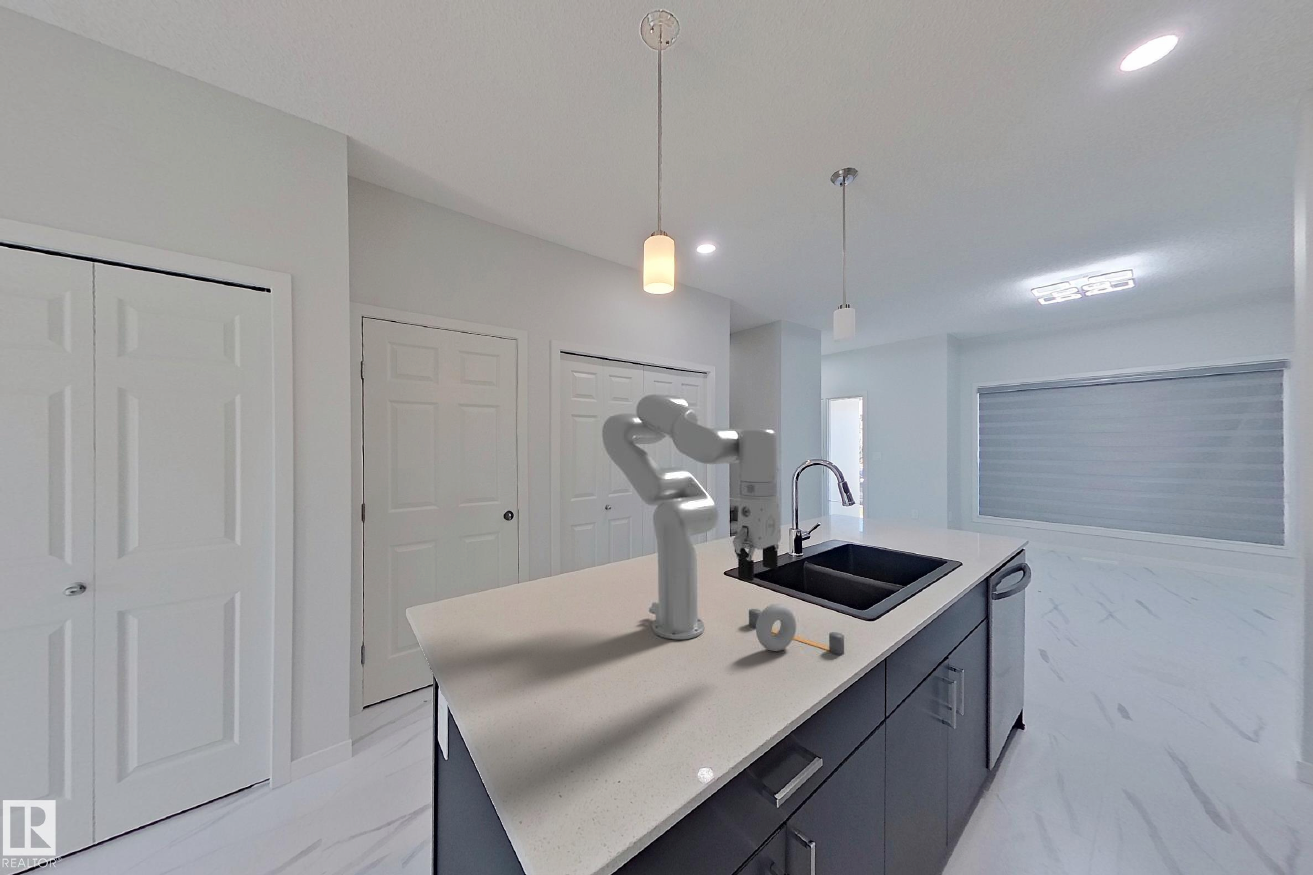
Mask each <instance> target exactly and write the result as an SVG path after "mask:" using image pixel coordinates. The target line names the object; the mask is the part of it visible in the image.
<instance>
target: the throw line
mask: <svg viewBox="0 0 1313 875" xmlns="http://www.w3.org/2000/svg"><path fill="white" fill-rule="evenodd" d="M761 612H762V610H760V609H758V608H751V609H748V626H749V627H750V628H752V629H756V623H757V620H758V617H759V615H760V614H761ZM778 631H779V629H778V630H777V629H774V628H772V634H776V633H777V632H778ZM828 637H829V638H828V643H829V644H828V645H824V644H822V643H818V642H816V641H812V640H809V639H806V638H803V637H800V636H797V635H794V638H793V640H794V641H798V642H800V643H804V644H807V645H811V646H813V647H816V648H819V649H822V650H825V651H829V653H832V654H833V655H836V656H841V655H842V656H843V655H844V654H845V636H844V634H843V633H841V632H837V631H836V632H835V631H832V632H829V633H828Z"/></svg>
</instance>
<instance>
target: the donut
mask: <svg viewBox="0 0 1313 875" xmlns="http://www.w3.org/2000/svg"><path fill="white" fill-rule="evenodd" d="M777 621H780V628H778V632H777V633H776V634H775V633H772V629H773V626H774V624H775V623H776V622H777ZM796 621H797V620H796V618H795V615H794V613H793V611H792V610H791V609H790V608H789V607H788V606H786V605H784V604H782V603H773V604H770V605H767V606H766V607H765V608H764V609H763V610H761V614H760V615H759V617H758V620H757V623H756V628H755V633H756V638H757V640H758V642H759V644H760V645H761V646H762V647H763V648H764V649H765V650H768V651H771V652H780V651H783V650H784V649H786V648H787V647H788V646H790V645H791V643H792V641H793V640H794V639H793V638H794V636H796V631H797V622H796Z"/></svg>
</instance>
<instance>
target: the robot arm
mask: <svg viewBox="0 0 1313 875" xmlns="http://www.w3.org/2000/svg"><path fill="white" fill-rule="evenodd" d="M635 408H636V410H635V412H636V413H619V414H614V415H612V416H610V417H608V418H607V419H606V420H605V421H604V423H603V425H602V431H601V432H602V433H601V437H602V443H603V446H604V449H605V452H606V453H607V455H608V456H609V458H610V460H611V461H612V462H613V463H614V464H615V465H616V466H617V467H618V468H619V470H621V472H622V473H623V474H624V476H625V477H626V478H627V481H628V482H629V483H630V485H631V486H632V487H633V489H634V491H635V492H636V493H637V494H638V496H639V497H640V498H641V500H642V501H643V502H644V503H645V504H646V505H648V506H653V507H655V506H656V508H654V509H655V510H654V512H653V515H652V516H653V517H652V521H653V522H652V523H653V527H654V532H655V533H654V534H655V538H656V547H657V577H658V578H657V579H658V580H657V588H658V589H657V590H658V592H657V593H658V598H657V599H658V600H657V601H658V602H656V601H653V602H652V604H651V607H649V608H648V612H649V613H650V614H652V615H655V619H654V620H653V622H652V626H651V627H652V628H651V629H652V631H653V632H654V633H655V634H656V635H658V636H659V637H661V638H665V639H669V640H688V639H693V638H696V637H699V636H700V635H701V634H703V632H704V631H705V622H704V621H703V620H702V619H701V618H699V615H698V614H699V613H698V610H699V609H698V607H699V606H698V558H697V551H696V549H695V547H694V544H693V542H692V541H691V537H692V536H696V535H700V534H704V533H709V532H710V531H713V529H714V528H716V526H717V525H718V523H719V516H720V515H719V510H718V507H717V505H716V503H715V501H714V500H713V499H712V497H711V496H710V495H709V493H708V492H707V491H706V490H705V488H704V487H703V486H702V485H701V484H700V483H699V481H698V480H697V479H696V478H695V477H694V475H693V474H692V473H691V472H689V471H688V470H687V469H685V468H682V467H662V466H659V465H658V464H657V463H656V461H654V459H653V457H651V455H650V454H649V453H648V452H647V451H646V450H644V449H643V448H641V447H639V446H637V445H651V444H655V443H656V444H657V443H658V442H660V441H662V440H663V439H665V438H667V437H668V438H669V439H671V440H672V443H673V445H674V446H675V448H676V450H677V451H679V453H681V454H683V455H685V456H687V457H689V458H690V459H693V460H694V461H696V462H698V463H701V464H704V465H721V464H722V465H723V464H738V489H739V490H738V492H739V493H738V494H739V495H738V496H739V502H738V510H737V511H738V512H737V528H736V529H737V534H736V535H735V537H734V538H733V539H732V544H733V548H734V553H735V555H736V559H737V574H738V575H737V577H738V578H739V580H740V579H741V580H745V581H749V582H753V581H754V580H755V576H754V575H755V569H754V568H755V563H754V559H753V556H754V553H755V551H756V550H760V551H761V550H762V567H763V568H766V569H771V570H777V569H778V566H779V564H778V561H779V559H778V556H779V555H778V550H779V542H780V541H781V536H782V533H781V529H782V527H781V515H780V506H779V499H778V469H777V468H778V462H777V461H778V460H777V459H778V454H777V452H778V451H777V450H778V448H777V444H778V443H777V440H778V439H777V434H776V431H774V430H772V429H770V428H748V429H742V428H729V427H726V428H721V427H720V428H717V427H715V428H710V427H706V426H703V425H702V424H699V423H698V416H697V413H696V411H694V410H693V409H692V408H690V407H689V404H688V402H687V401H686V400H685V399H683V398H682V397H680V396H677V395H669V394H668V395H667V394H657V393H656V394H648V395H645V396H643V397H641V398H640V400H639V401H638V402H637V405H636V407H635ZM746 549H748V551H747V550H746Z"/></svg>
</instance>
